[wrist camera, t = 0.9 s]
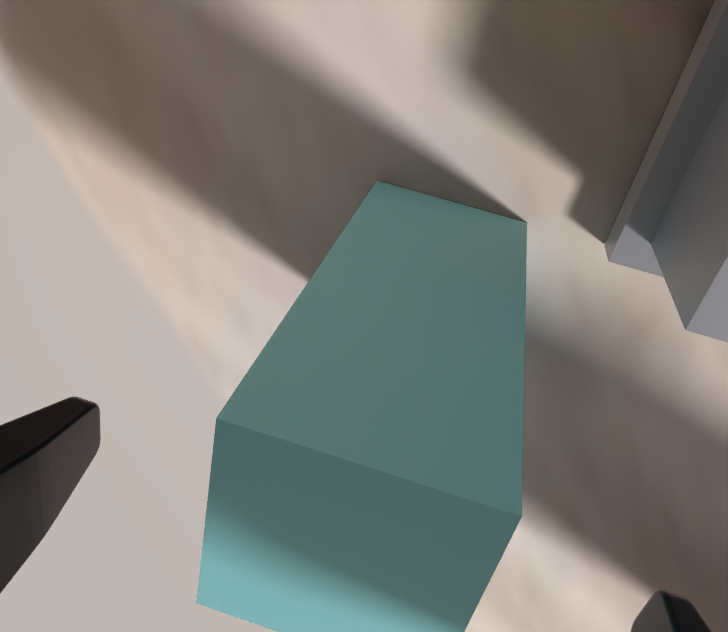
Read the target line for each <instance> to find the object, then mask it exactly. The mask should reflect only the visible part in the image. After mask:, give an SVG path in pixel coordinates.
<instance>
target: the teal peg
mask: <svg viewBox="0 0 728 632" xmlns="http://www.w3.org/2000/svg"><path fill="white" fill-rule="evenodd" d="M526 246H527V222H523V221H519V220H516V219H512V218H509V217H505V216H502V215H498V214H495V213H491V212H487V211H484V210H480V209H477V208H473V207H470V206H466V205H463V204H459V203H455V202H452V201H448V200H445V199H441V198H438V197H434V196H431V195H427V194H423V193H420V192H416V191H413V190H409V189H406V188H402V187H399V186H395V185H391V184H388V183H384V182H381V181H376V183H375V184H374V186H373V187H372V188H371V190H370V191H369V193H368V194H367V196H366V197H365V199H364V200H363V202H362V203H361V205H360V206H359V208H358V209H357V211H356V212H355V214H354V215H353V217H352V218H351V220H350V221H349V223H348V224H347V226H346V227H345V228H344V230H343V231H342V233H341V234H340V236H339V237H338V239H337V240H336V242H335V243H334V245H333V246H332V248H331V249H330V251H329V252H328V254H327V255H326V257H325V258H324V260H323V261H322V263H321V264H320V265H319V267H318V268H317V270H316V271H315V273H314V274H313V276H312V277H311V279H310V280H309V282H308V283H307V285H306V286H305V288H304V289H303V291H302V292H301V294H300V295H299V297H298V298H297V300H296V301H295V302H294V304H293V305H292V307H291V308H290V310H289V311H288V313H287V314H286V316H285V317H284V319H283V320H282V322H281V323H280V325H279V326H278V328H277V329H276V331H275V332H274V334H273V335H272V337H271V338H270V339H269V341H268V342H267V344H266V345H265V347H264V348H263V350H262V351H261V353H260V354H259V356H258V357H257V359H256V360H255V362H254V363H253V365H252V366H251V368H250V369H249V371H248V372H247V374H246V375H245V377H244V378H243V379H242V381H241V382H240V384H239V385H238V387H237V388H236V390H235V391H234V393H233V394H232V396H231V397H230V399H229V400H228V402H227V403H226V405H225V406H224V408H223V409H222V411H221V412H220V414H219V415H218V417H217V418H216V427H215V436H214V446H213V455H212V464H211V473H210V483H209V492H208V501H207V510H206V520H205V529H204V539H203V547H202V557H201V567H200V576H199V586H198V594H197V603H198V604H201V605H203V606H206V607H209V608H212V609H215V610H218V611H221V612H224V613H226V614H229V615H232V616H235V617H238V618H241V619H243V620H246V621H249V622H252V623H255V624H258V625H261V626H263V627H266V628H269V629H272V630H275V631H278V632H464V631H465V629H466V627H467V625H468V623H469V621H470V619H471V617H472V615H473V613H474V611H475V609H476V607H477V605H478V603H479V601H480V599H481V597H482V595H483V593H484V591H485V589H486V587H487V585H488V583H489V581H490V579H491V577H492V575H493V573H494V571H495V569H496V567H497V565H498V563H499V561H500V559H501V557H502V555H503V553H504V551H505V549H506V547H507V545H508V543H509V541H510V539H511V537H512V535H513V533H514V531H515V529H516V527H517V525H518V523H519V521H520V519H521V517H522V474H523V417H524V360H525V303H526Z"/></svg>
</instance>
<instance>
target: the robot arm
mask: <svg viewBox="0 0 728 632" xmlns="http://www.w3.org/2000/svg"><path fill="white" fill-rule="evenodd" d="M99 445H100V409H99V407H98V405H97V404H96V403H94V402H91V401H88V400H85V399H82V398H79V397H70V398H67V399H65V400H62V401H59V402H57V403H55V404H52V405H50V406H47V407H45V408H42V409H40V410H37V411H35V412H32V413H30V414H27V415H25V416H22V417H20V418H17V419H15V420H13V421H10V422H7V423H5V424H3V425H0V593H1V592H2V590H3V589H4V588H5V587H6V585H7V584H8V583H9V582H10V580H11V579H12V578H13V576H14V575H15V574H16V572H17V571H18V570H19V569H20V567H21V566H22V565H23V564H24V562H25V561H26V560H27V558H28V557H29V556H30V555H31V553H32V552H33V551H34V549H35V548H36V547H37V546H38V544H39V543H40V541H41V540H42V539H43V537H44V536H45V535H46V533H47V532H48V530H49V529H50V527H51V526H52V524H53V522H54V521H55V519H56V518H57V516H58V515H59V513H60V511H61V510H62V508H63V506H64V505H65V503H66V502H67V500H68V498H69V497H70V495H71V493H72V492H73V490H74V489H75V487H76V486H77V484H78V482H79V481H80V479H81V478H82V476H83V474H84V473H85V471H86V469H87V468H88V466H89V465H90V463H91V461H92V460H93V458H94V456H95V455H96V453H97V451H98V448H99ZM631 632H711V630H710V629H709V627H708V626H707V624H706V623H705V621H704V620H703V619H702V617H701V616H700V614H699V613H698V611H697V610H696V608H695V607H694V606H693V604H692V603H691V602H690V601H689V600H688V599H687V598H685V597H683V596H680V595H677V594H674V593H671V592H668V591H665V590H659V591H657V592H655V593H654V594H653V596H652V597H651V598H650V600H649V601H648V602H647V604H646V605H645V607H644V608H643V609H642V611H641V612H640V613H639V615H638V616H637V617H636V619H635V621H634V623H633V626H632V629H631Z"/></svg>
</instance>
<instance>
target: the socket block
mask: <svg viewBox="0 0 728 632" xmlns="http://www.w3.org/2000/svg"><path fill="white" fill-rule="evenodd" d="M605 249H606V253H607V257H608V261H609V262H613V263H616V264H620V265H623V266H627V267H630V268H634V269H638V270H641V271H645V272H648V273H652V274H655V275H659V276H662V277H664V278H665V281H666V283H667V286H668V288H669V291H670V293H671V295H672V298H673V300H674V303H675V305H676V308H677V310H678V313H679V315H680V318H681V320H682V323H683V325H684V328H685V330H687V331H691V332H694V333H698V334H701V335H705V336H708V337H711V338H715V339H718V340H722V341H725V342H728V0H715V1H714V3H713V5H712V7H711V10H710V12H709V14H708V16H707V19H706V21H705V23H704V25H703V27H702V30H701V32H700V34H699V36H698V38H697V41H696V43H695V45H694V47H693V50H692V52H691V54H690V56H689V58H688V61H687V63H686V65H685V67H684V70H683V72H682V74H681V76H680V78H679V81H678V83H677V85H676V87H675V90H674V92H673V94H672V96H671V98H670V101H669V103H668V105H667V107H666V109H665V112H664V114H663V116H662V118H661V121H660V123H659V125H658V127H657V129H656V132H655V134H654V136H653V138H652V141H651V143H650V145H649V147H648V149H647V152H646V154H645V156H644V158H643V161H642V163H641V165H640V167H639V169H638V172H637V174H636V176H635V178H634V180H633V183H632V185H631V187H630V189H629V192H628V194H627V196H626V198H625V200H624V203H623V205H622V207H621V209H620V212H619V214H618V216H617V218H616V220H615V223H614V225H613V227H612V229H611V232H610V234H609V236H608V238H607V240H606V243H605Z"/></svg>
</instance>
